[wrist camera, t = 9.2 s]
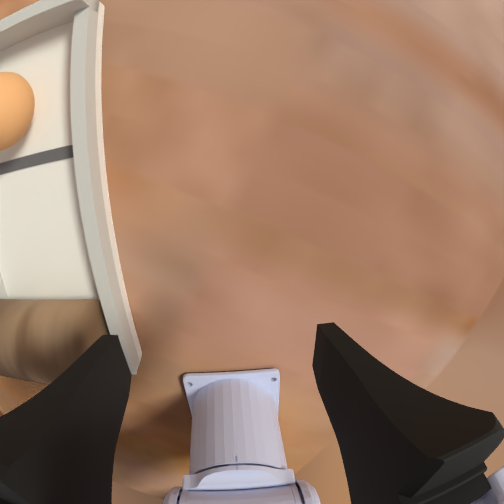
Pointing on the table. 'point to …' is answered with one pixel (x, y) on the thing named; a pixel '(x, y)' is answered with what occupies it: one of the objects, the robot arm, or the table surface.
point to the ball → (14, 108)
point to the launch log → (46, 336)
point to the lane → (61, 169)
